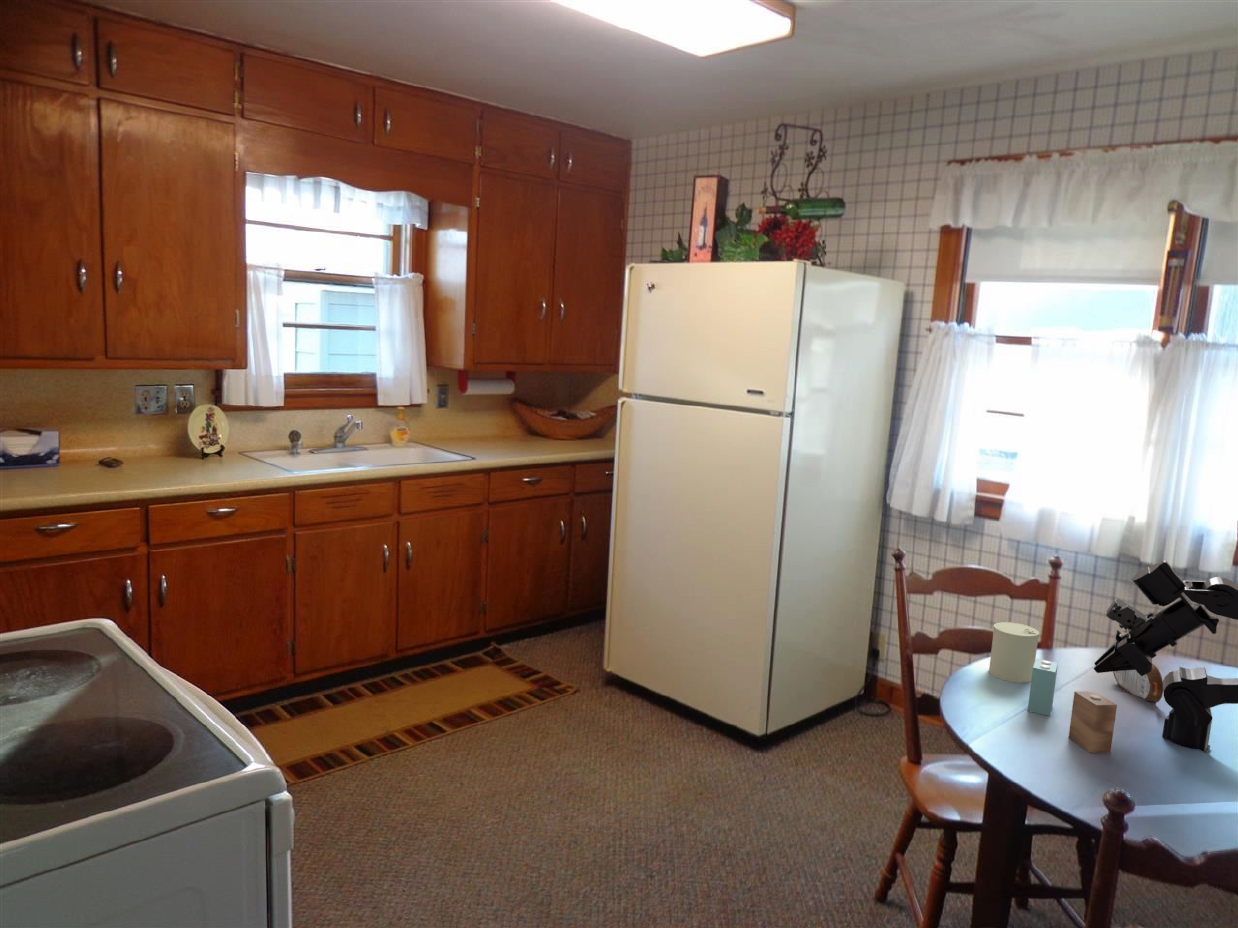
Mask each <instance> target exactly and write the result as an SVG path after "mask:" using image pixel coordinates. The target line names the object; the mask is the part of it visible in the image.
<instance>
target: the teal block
mask: <svg viewBox="0 0 1238 928" xmlns="http://www.w3.org/2000/svg"><path fill="white" fill-rule="evenodd" d="M1058 665H1059V663H1058V662H1056V661H1050V660H1046V659H1040V658H1036V659H1035V663H1034V666H1033V671H1032V679H1031V682H1030V689H1029V696H1028V697H1029V698H1028V705H1027V706H1028V707H1027V712H1030V713H1035V714H1040V715H1045V716H1048V717H1051V714H1052V710H1053V705H1054V699H1055V698H1054V697H1055V689H1056V684H1057V683H1056V681H1057V675H1058V673H1057V672H1058Z"/></svg>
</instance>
